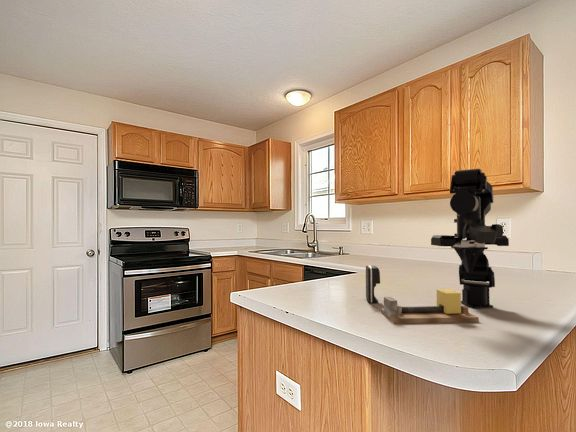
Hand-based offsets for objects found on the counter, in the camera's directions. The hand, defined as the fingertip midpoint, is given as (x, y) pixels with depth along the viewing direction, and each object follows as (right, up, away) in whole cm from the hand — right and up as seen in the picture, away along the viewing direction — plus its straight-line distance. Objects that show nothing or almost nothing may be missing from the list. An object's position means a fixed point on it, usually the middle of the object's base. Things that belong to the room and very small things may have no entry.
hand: (469, 272), depth 86 cm
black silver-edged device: (-22, -13, +17) cm, 30 cm away
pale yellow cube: (-6, -10, -1) cm, 12 cm away
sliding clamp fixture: (-12, -12, -1) cm, 17 cm away
